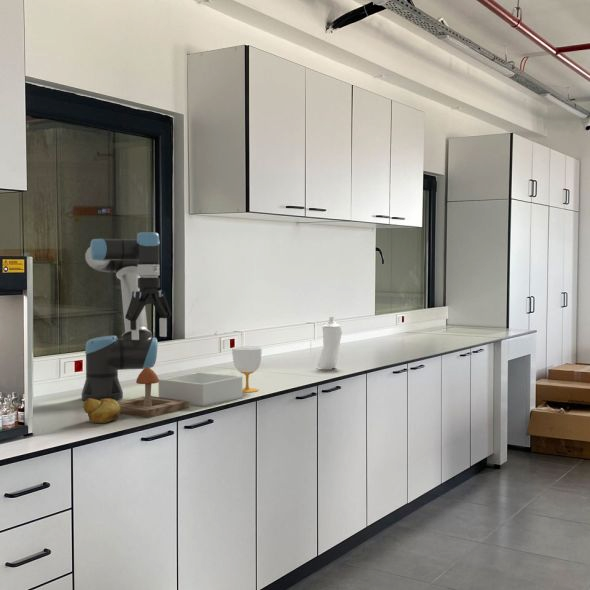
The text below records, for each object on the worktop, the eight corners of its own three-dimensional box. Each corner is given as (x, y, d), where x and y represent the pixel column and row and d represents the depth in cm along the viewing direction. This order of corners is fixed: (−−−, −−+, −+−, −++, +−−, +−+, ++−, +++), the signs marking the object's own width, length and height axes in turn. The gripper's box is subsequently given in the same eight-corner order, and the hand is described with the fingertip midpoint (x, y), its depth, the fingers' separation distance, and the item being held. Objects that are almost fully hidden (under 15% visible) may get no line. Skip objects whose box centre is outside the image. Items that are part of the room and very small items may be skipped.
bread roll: (105, 415, 252) (105, 392, 252) (129, 418, 249) (129, 393, 248) (80, 423, 241) (80, 398, 240) (105, 425, 237) (105, 400, 237)
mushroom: (151, 406, 268) (150, 364, 267) (164, 409, 262) (163, 366, 261) (131, 409, 262) (131, 366, 261) (144, 413, 256) (144, 369, 256)
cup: (228, 389, 304) (228, 347, 304) (255, 387, 309) (255, 345, 308) (238, 393, 293) (237, 350, 293) (266, 391, 298) (265, 348, 297)
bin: (203, 406, 267) (203, 384, 266) (158, 400, 279) (158, 379, 279) (242, 397, 285) (242, 376, 284) (198, 392, 297) (198, 372, 297)
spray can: (336, 366, 372) (336, 315, 371) (344, 369, 362) (344, 317, 361) (314, 367, 368) (313, 316, 367) (321, 370, 358) (321, 317, 357)
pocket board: (147, 417, 248) (147, 410, 248) (106, 411, 260) (106, 404, 259) (189, 408, 264) (189, 401, 264) (148, 402, 276) (148, 395, 276)
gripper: (130, 277, 249) (131, 341, 250) (181, 276, 270) (181, 335, 270) (114, 277, 253) (115, 340, 254) (165, 276, 274) (166, 334, 274)
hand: (149, 338), depth 262 cm, fingers open, 13 cm apart
